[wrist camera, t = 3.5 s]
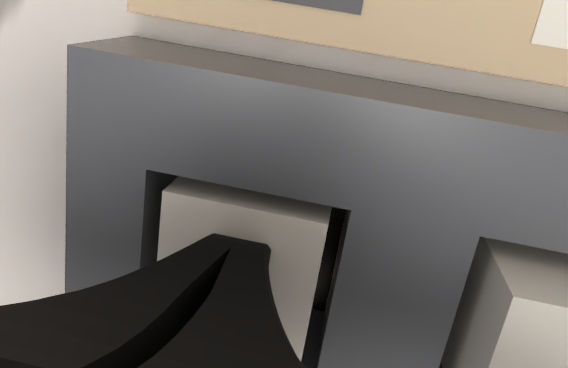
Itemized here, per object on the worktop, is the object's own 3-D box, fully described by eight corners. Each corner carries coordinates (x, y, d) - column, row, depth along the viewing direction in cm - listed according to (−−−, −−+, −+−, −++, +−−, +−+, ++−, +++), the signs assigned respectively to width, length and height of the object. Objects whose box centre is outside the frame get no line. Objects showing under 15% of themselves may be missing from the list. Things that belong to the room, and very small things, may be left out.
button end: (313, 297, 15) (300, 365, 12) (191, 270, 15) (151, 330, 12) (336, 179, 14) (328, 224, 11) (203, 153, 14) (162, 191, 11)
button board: (877, 506, 14) (1000, 628, 12) (116, 331, 16) (63, 398, 14) (1101, 207, 11) (1343, 274, 9) (130, 36, 13) (67, 45, 11)
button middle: (587, 389, 13) (647, 495, 10) (440, 356, 13) (459, 451, 10) (643, 260, 12) (730, 342, 9) (479, 228, 12) (513, 296, 9)
